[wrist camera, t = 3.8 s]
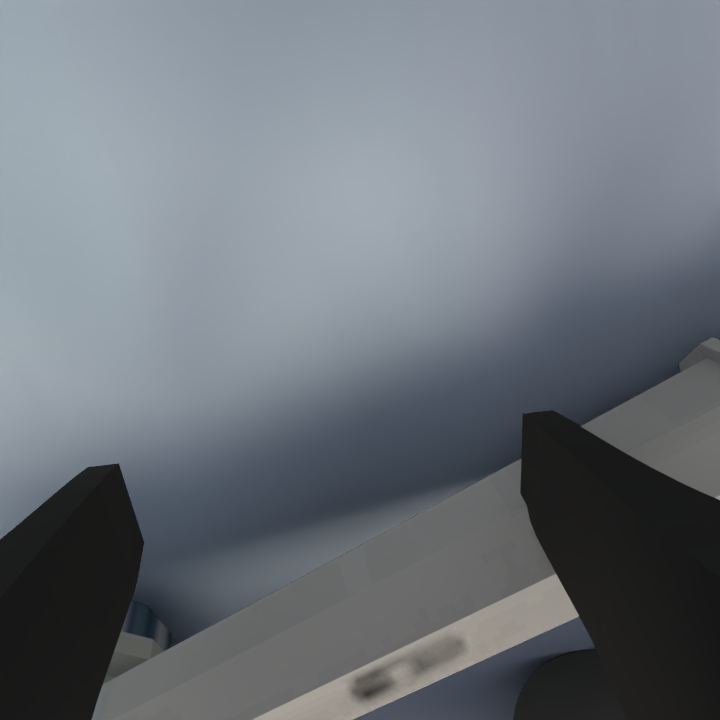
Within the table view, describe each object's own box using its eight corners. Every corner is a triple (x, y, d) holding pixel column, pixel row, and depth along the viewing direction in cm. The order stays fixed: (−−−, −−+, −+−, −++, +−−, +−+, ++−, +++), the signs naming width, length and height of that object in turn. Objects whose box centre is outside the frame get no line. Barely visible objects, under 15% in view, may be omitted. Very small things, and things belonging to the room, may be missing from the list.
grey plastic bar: (994, 497, 13) (-56, 1059, 12) (747, 378, 19) (38, 751, 18) (999, 285, 11) (-269, 954, 10) (719, 228, 17) (-83, 646, 16)
